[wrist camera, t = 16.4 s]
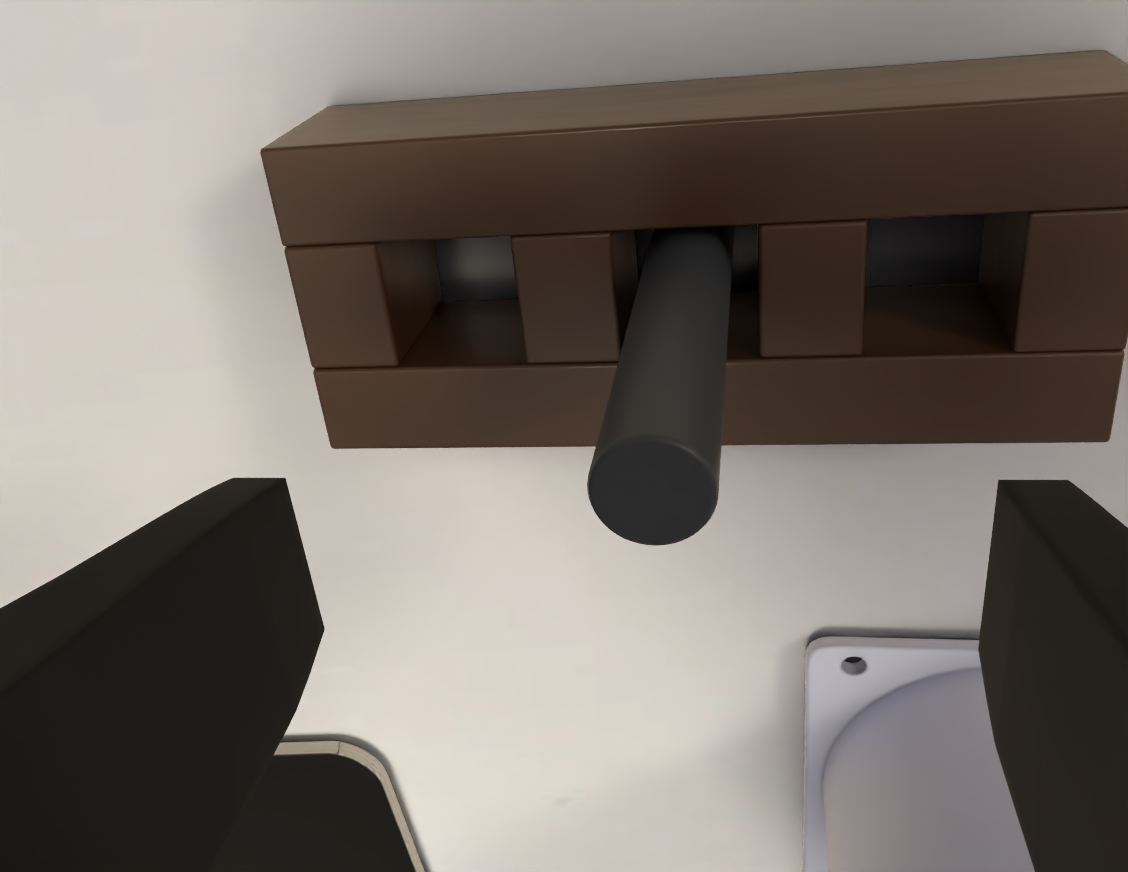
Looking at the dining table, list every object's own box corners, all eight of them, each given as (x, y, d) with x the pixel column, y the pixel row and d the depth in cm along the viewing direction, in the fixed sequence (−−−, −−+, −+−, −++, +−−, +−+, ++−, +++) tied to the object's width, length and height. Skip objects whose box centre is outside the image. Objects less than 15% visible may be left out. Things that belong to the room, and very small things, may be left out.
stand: (326, 106, 19) (257, 149, 16) (1107, 49, 16) (1171, 88, 14) (381, 376, 22) (329, 450, 19) (1063, 361, 19) (1110, 444, 16)
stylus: (733, 183, 18) (716, 436, 11) (735, 259, 19) (720, 548, 11) (653, 188, 19) (580, 436, 11) (658, 262, 19) (592, 547, 12)
